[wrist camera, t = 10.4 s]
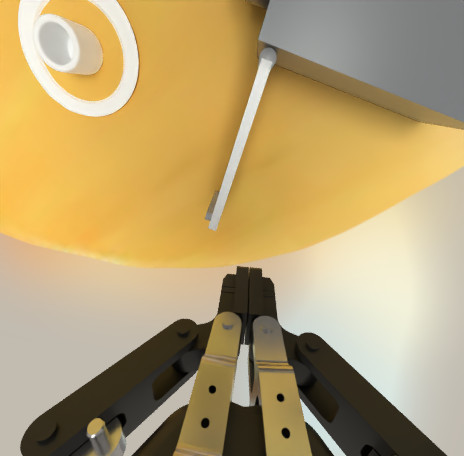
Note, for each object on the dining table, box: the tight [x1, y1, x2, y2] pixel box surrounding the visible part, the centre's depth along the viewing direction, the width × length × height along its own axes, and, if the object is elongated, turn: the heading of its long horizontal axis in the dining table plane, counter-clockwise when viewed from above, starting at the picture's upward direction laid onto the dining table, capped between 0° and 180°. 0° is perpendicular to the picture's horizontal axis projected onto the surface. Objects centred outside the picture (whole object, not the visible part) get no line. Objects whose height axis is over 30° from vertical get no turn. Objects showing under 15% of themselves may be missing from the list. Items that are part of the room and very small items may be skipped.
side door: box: [205, 48, 277, 231], centre depth 24 cm, size 15×2×8 cm, turn 162°
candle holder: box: [18, 0, 139, 117], centre depth 23 cm, size 12×12×4 cm
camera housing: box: [245, 0, 464, 130], centre depth 18 cm, size 20×10×10 cm, turn 72°
